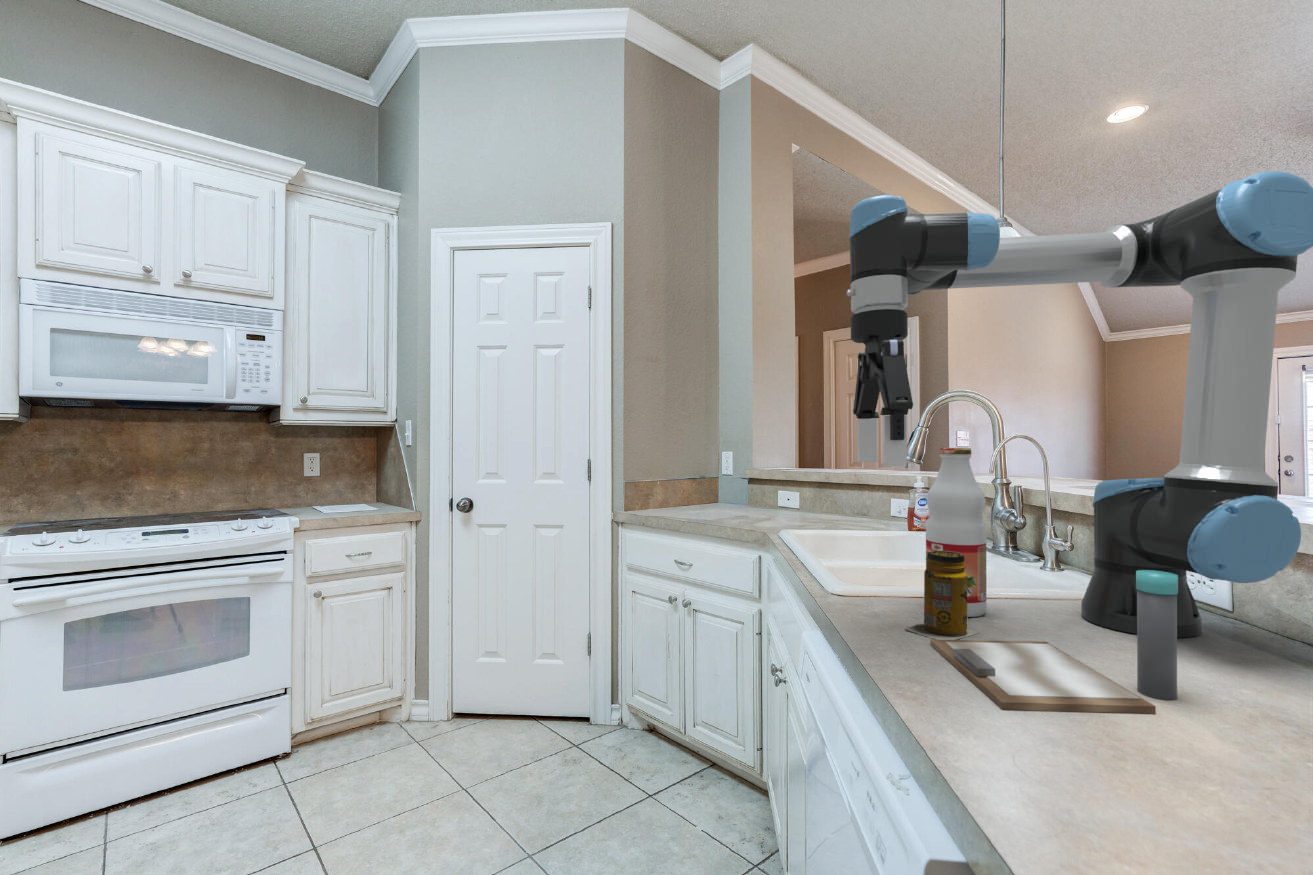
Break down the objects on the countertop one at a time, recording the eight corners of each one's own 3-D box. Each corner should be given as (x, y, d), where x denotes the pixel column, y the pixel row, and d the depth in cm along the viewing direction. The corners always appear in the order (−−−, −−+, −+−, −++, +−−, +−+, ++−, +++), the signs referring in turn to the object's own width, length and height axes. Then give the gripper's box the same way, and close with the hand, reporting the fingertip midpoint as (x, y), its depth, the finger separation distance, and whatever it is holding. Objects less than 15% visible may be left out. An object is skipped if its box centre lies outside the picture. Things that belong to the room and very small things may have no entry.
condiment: (979, 633, 94) (979, 554, 94) (947, 643, 90) (947, 561, 90) (935, 621, 100) (935, 547, 100) (903, 630, 96) (903, 553, 96)
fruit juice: (999, 614, 104) (999, 448, 104) (956, 620, 100) (956, 448, 100) (954, 600, 112) (954, 447, 112) (913, 605, 109) (913, 447, 109)
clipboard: (1046, 647, 88) (1046, 633, 88) (1155, 713, 67) (1155, 696, 67) (930, 645, 89) (930, 631, 89) (1002, 709, 68) (1002, 692, 68)
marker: (1161, 687, 74) (1161, 570, 74) (1186, 700, 70) (1186, 577, 70) (1128, 686, 74) (1128, 569, 74) (1151, 700, 70) (1151, 576, 70)
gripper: (832, 328, 99) (834, 460, 99) (875, 292, 74) (877, 468, 74) (880, 327, 99) (882, 460, 99) (939, 290, 74) (941, 468, 74)
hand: (880, 464), depth 87 cm, fingers open, 13 cm apart
